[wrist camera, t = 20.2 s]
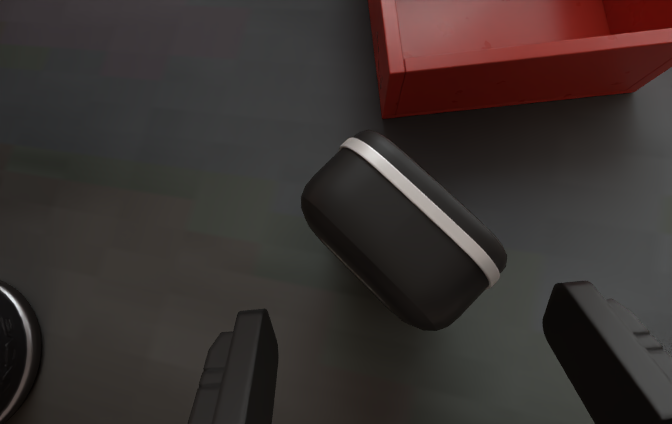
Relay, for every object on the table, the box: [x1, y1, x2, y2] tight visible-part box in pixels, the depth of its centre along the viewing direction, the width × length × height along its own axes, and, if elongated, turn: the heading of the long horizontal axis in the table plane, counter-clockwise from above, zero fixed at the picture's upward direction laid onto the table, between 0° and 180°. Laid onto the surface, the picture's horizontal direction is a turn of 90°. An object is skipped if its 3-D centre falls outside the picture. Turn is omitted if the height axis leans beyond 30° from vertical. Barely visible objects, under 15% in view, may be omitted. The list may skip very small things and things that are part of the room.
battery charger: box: [301, 130, 507, 331], centre depth 16 cm, size 7×4×11 cm, turn 45°
